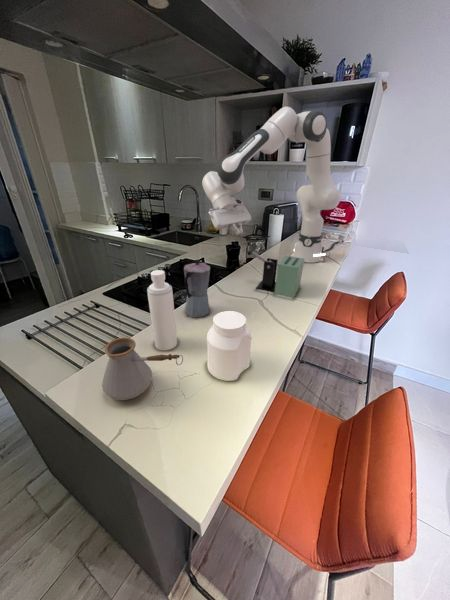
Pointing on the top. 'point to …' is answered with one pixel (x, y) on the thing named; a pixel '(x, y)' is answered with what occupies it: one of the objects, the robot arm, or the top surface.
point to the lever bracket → (269, 276)
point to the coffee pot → (128, 370)
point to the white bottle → (162, 311)
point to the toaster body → (289, 276)
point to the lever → (257, 255)
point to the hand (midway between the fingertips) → (240, 233)
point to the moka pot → (197, 288)
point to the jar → (228, 346)
